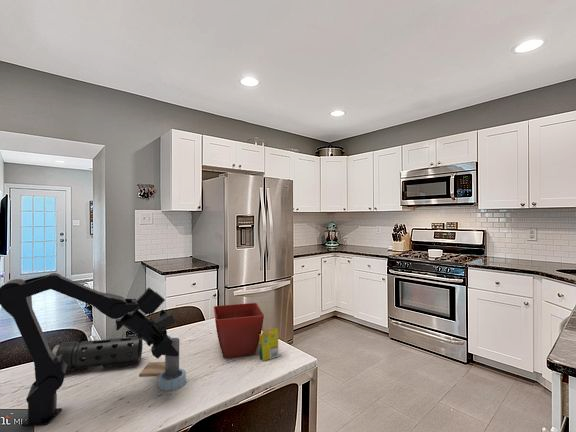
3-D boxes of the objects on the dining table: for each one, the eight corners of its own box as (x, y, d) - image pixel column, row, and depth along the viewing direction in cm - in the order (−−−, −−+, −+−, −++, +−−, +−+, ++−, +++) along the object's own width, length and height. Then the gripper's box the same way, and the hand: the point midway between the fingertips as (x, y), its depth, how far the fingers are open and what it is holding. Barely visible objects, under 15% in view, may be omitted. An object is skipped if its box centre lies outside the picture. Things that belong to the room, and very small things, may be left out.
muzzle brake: (137, 369, 112) (137, 340, 112) (48, 379, 104) (48, 349, 105) (142, 357, 121) (142, 331, 121) (61, 366, 114) (61, 338, 114)
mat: (165, 375, 107) (165, 373, 107) (139, 376, 106) (139, 374, 106) (173, 363, 116) (173, 361, 116) (148, 364, 115) (148, 362, 115)
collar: (181, 389, 98) (181, 380, 98) (154, 391, 97) (154, 381, 97) (188, 376, 106) (188, 367, 106) (163, 377, 106) (163, 368, 106)
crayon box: (275, 354, 124) (275, 325, 124) (278, 357, 122) (278, 327, 122) (258, 358, 120) (259, 329, 120) (262, 361, 118) (262, 331, 118)
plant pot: (215, 363, 116) (215, 319, 116) (213, 343, 134) (213, 305, 135) (264, 357, 121) (264, 315, 121) (256, 339, 140) (256, 302, 140)
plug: (177, 376, 100) (177, 342, 100) (163, 376, 99) (163, 343, 100) (180, 369, 104) (181, 337, 104) (167, 370, 104) (167, 337, 104)
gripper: (165, 312, 92) (201, 341, 98) (155, 298, 108) (187, 324, 114) (136, 343, 88) (175, 372, 94) (130, 324, 104) (164, 350, 109)
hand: (176, 352), depth 103 cm, fingers closed on plug, 4 cm apart
